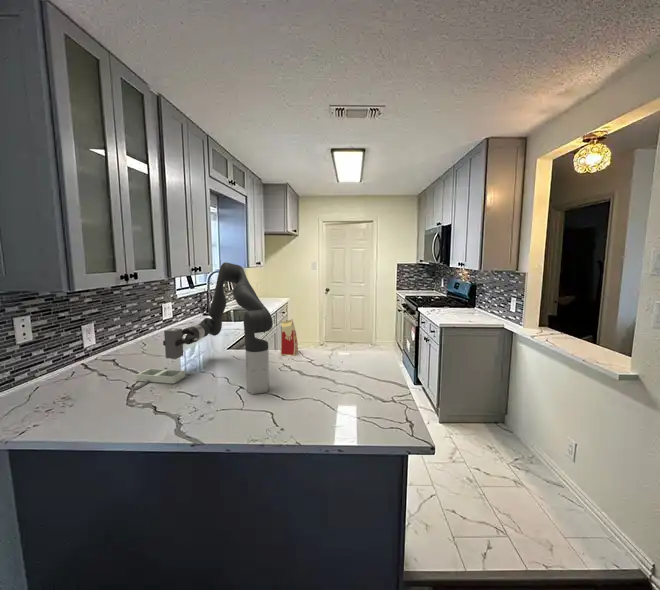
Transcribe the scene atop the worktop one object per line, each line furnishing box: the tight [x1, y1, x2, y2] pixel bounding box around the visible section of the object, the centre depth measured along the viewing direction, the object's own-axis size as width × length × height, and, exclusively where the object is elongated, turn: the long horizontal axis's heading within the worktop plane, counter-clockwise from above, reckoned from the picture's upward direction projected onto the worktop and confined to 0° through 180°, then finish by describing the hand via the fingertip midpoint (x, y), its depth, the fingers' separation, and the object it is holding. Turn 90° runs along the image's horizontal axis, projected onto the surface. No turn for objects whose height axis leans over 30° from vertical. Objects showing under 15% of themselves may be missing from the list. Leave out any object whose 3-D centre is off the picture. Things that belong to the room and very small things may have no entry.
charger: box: [163, 327, 184, 360], centre depth 146 cm, size 5×5×12 cm
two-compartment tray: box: [132, 368, 186, 391], centre depth 147 cm, size 17×18×3 cm
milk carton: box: [280, 318, 299, 357], centre depth 190 cm, size 9×9×20 cm
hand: (170, 343), depth 143 cm, fingers closed on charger, 5 cm apart
